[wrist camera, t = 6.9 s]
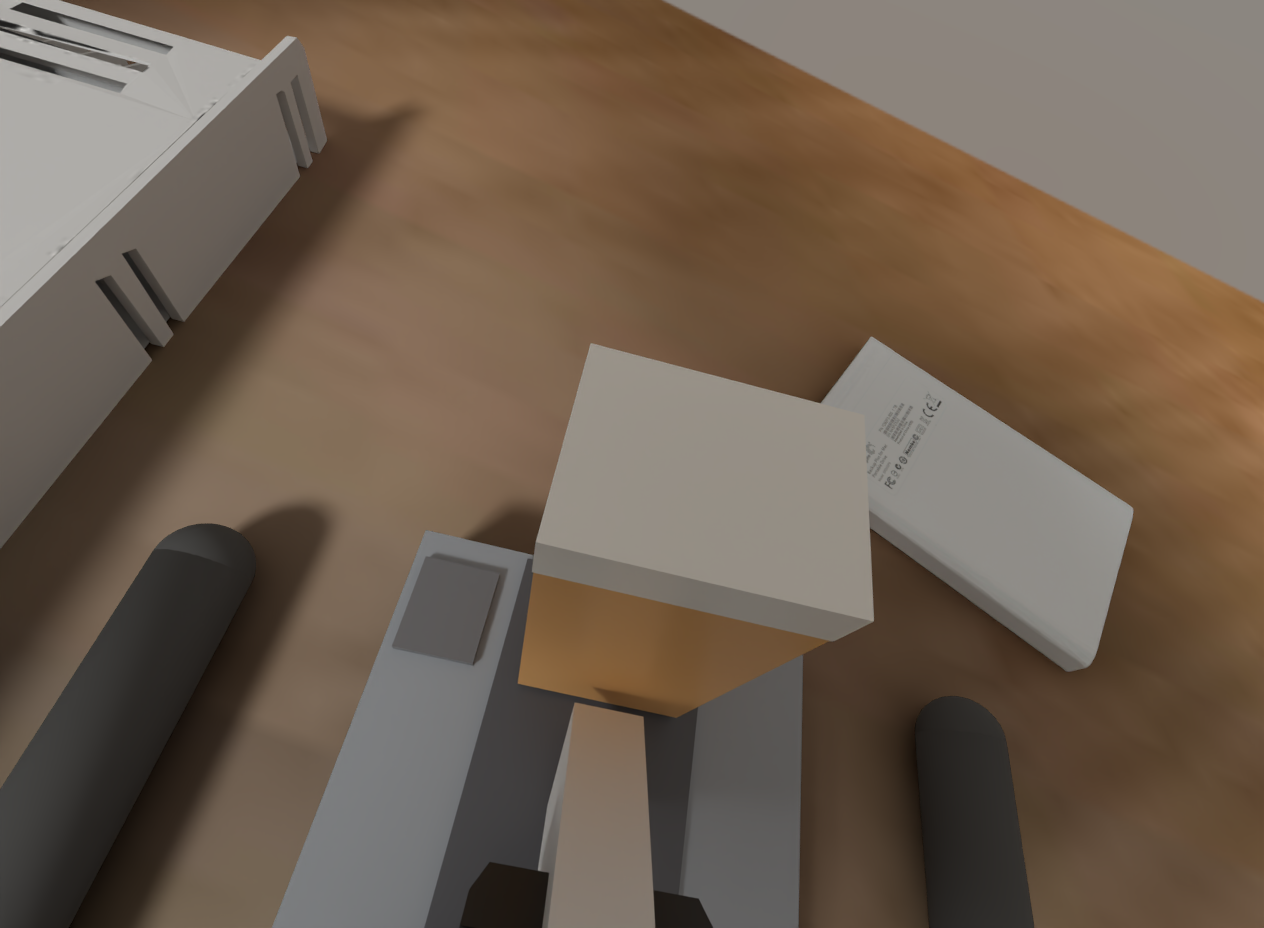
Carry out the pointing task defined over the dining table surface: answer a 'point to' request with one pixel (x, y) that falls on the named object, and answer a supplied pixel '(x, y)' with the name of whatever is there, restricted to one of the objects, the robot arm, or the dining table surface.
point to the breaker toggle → (694, 537)
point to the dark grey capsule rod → (969, 819)
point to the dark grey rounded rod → (114, 723)
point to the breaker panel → (531, 769)
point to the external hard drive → (986, 506)
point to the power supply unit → (120, 209)
